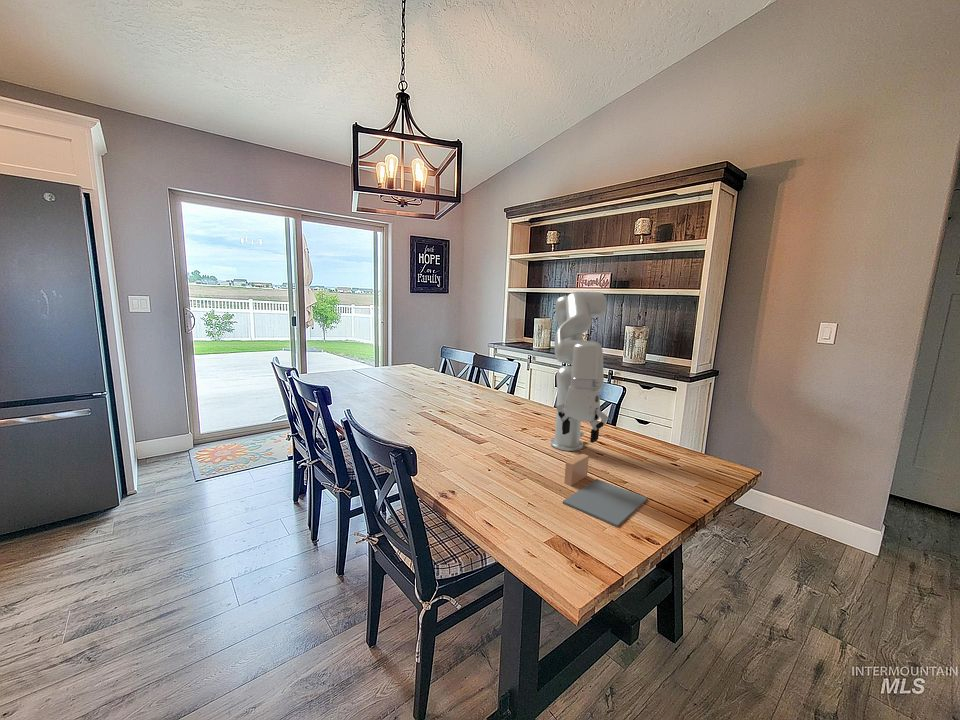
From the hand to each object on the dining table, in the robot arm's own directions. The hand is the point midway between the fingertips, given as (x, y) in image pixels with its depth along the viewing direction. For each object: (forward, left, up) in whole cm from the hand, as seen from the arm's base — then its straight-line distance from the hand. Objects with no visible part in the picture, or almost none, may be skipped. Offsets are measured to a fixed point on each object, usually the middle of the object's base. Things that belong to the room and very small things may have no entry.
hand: (579, 437), depth 122 cm
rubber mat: (+6, +13, -14) cm, 20 cm away
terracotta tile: (0, 0, -14) cm, 14 cm away
